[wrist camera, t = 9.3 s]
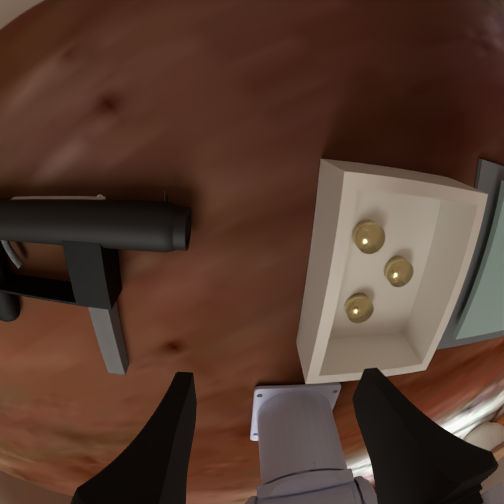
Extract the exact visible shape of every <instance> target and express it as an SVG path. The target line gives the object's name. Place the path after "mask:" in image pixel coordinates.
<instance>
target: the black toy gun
mask: <svg viewBox="0 0 504 504" xmlns="http://www.w3.org/2000/svg"><path fill="white" fill-rule="evenodd" d="M190 234H191V209H190V208H189V207H180V206H178V205H176V204H174V203H171V202H168V198H167V202H166V189H164V202H158V201H132V200H106V197H104V196H103V195H101V194H99V195H97V196H21V197H13V198H12V199H9V200H0V240H1V242H2V245H3V247H4V249H5V251H6V252H7V254H8V256H9V257H10V259H11V260H12V261H13V263H14V264H15V265H16V267H17V268H18V269H19V268H20V267H21V266H22V264H23V262H22V260H21V259H20V258H19V257H18V255H17V254H16V253H15V251H14V250H13V248H12V246H11V245H10V243H9V241H18V242H30V243H43V244H56V245H63V248H64V254H65V258H66V263H67V268H68V272H69V277H70V281H71V282H67V281H59V280H52V279H44V278H37V277H30V276H23V275H17V274H10V273H8V271H7V268H6V264H5V261H4V257H3V253H2V250H1V246H0V320H2V321H6V322H10V321H14V320H15V319H17V318H18V316H19V315H20V307H19V304H18V301H17V298H16V296H15V295H20V296H26V297H31V298H37V299H42V300H48V301H54V302H60V303H66V304H73V305H78V306H85V307H88V308H89V312H90V315H91V319H92V323H93V326H94V330H95V333H96V337H97V340H98V343H99V346H100V350H101V353H102V356H103V359H104V362H105V365H106V368H107V370H108V372H109V373H115V374H121V375H126V372H127V369H128V366H129V363H128V358H127V354H126V349H125V344H124V340H123V334H122V329H121V324H120V318H119V313H118V308H117V303H116V300H117V298H118V296H119V294H120V293H121V291H122V286H121V277H120V269H119V259H118V249H124V250H138V251H152V252H171V251H174V250H188V247H189V242H190Z"/></svg>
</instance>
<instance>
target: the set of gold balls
mask: <svg viewBox="0 0 504 504" xmlns="http://www.w3.org/2000/svg"><path fill="white" fill-rule="evenodd" d="M352 240H353V242H354V244H355V245H356V246H357V247H358V248H359V250H360V251H361V252H363V253H365V254H373V253H376V252H377V251H379V250H380V249H381V248H382V246H383V245H384V242H385V232H384V230H383V229H382V228H381V227H380V226H379V225H378V224H377V223H376V222H374V221H373V220H370V219H365V220H362V221H360V222H359V223H357V224H356V225H355V227H354V229H353V231H352ZM413 272H414V270H413V266H412V265H411V264H410V263H409V262H408V261H407V260H406V259H405V258H404V257H403V256H394V257H392V258H391V259H389V260H388V261H387V263H386V264H385V267H384V276H385V277H386V279H387V280H388V281H389V282H390V283H391V285H392V286H394V287H402V286H404V285H406V284H407V283H408V282H409V281H410V280H411V278H412V276H413ZM344 310H345V312H346V314H347V316H348V318H349V320H350V321H351V322H353V323H362V322H364V321H366V320H368V319H369V318H370V317H371V315H372V314H373V311H374V306H373V304H372V302H371V301H370V299H369V298H368V296H367V295H366V294H364V293H355V294H353V295H351V296H350V297H348V299H347V300H346V301H345V304H344Z"/></svg>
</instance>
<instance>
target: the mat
mask: <svg viewBox="0 0 504 504" xmlns="http://www.w3.org/2000/svg"><path fill="white" fill-rule="evenodd" d="M502 180H503V181H504V166H501V165H498V164H495V163H492V162H489V161H486V160H483V159H479V161H478V168H477V174H476V180H475V186H474V188H475V189H477V190H480V191H482V192H484V193H486V194H488V197H487V202H486V207H485V211H484V215H483V220H482V224H481V228H480V231H479V235H478V239H477V242H476V246H475V249H474V253H473V256H472V259H471V262H470V266H469V269H468V272H467V275H466V278H465V280H464V283H463V286H462V289H461V292H460V294H459V297H458V300H457V302H456V305H455V307H454V310H453V312H452V315H451V317H450V319H449V322H448V324H447V326H446V329H445V331H444V333H443V335H442V338H441V340H440V342H439V344H438V346H437V348H436V350H438V349H443V348H449V347H455V346H460V345H465V344H470V343H475V342H479V341H484V340H489V339H493V338H497V337H501V336H504V330H502V331H497V332H493V333H488V334H483V335H478V336H473V337H467V338H462V339H455V338H454V337H453V334H454V331H455V329H456V327H457V325H458V322H459V320H460V318H461V315H462V313H463V311H464V308H465V306H466V303H467V301H468V298H469V296H470V293H471V291H472V288H473V285H474V282H475V280H476V277H477V274H478V271H479V268H480V265H481V262H482V259H483V256H484V252H485V249H486V246H487V242H488V239H489V235H490V231H491V227H492V224H493V219H494V215H495V211H496V207H497V202H498V197H499V192H500V187H501V181H502Z"/></svg>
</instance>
